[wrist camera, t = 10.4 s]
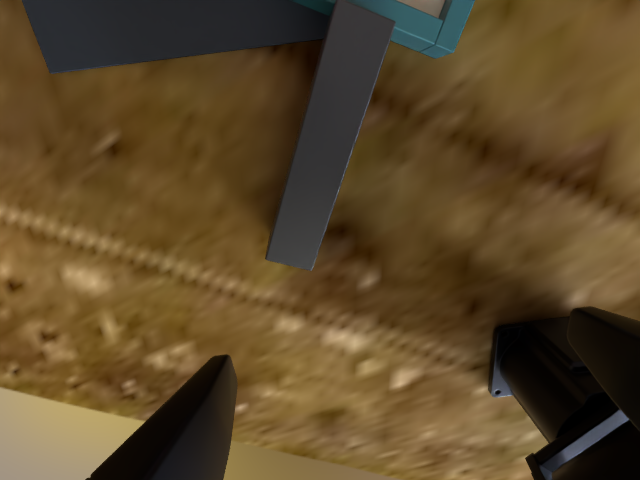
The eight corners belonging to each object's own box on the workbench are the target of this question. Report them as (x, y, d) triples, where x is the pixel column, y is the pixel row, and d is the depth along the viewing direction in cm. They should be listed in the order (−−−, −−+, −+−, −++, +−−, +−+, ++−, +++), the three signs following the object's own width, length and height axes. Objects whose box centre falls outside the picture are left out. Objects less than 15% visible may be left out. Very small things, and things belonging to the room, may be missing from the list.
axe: (356, 261, 20) (366, 284, 18) (216, 225, 19) (202, 245, 16) (541, -210, 13) (609, -298, 10) (331, -340, 11) (343, -488, 8)
